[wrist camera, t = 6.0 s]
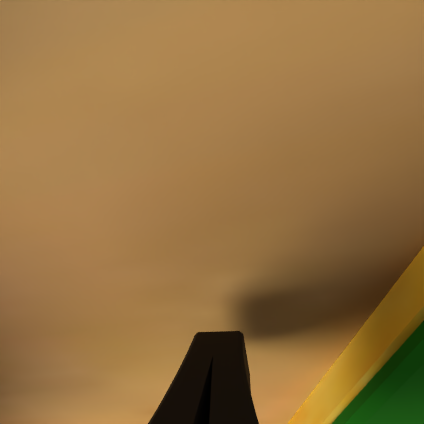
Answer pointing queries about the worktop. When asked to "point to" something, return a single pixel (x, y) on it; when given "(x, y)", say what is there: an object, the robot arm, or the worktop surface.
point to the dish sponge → (378, 364)
